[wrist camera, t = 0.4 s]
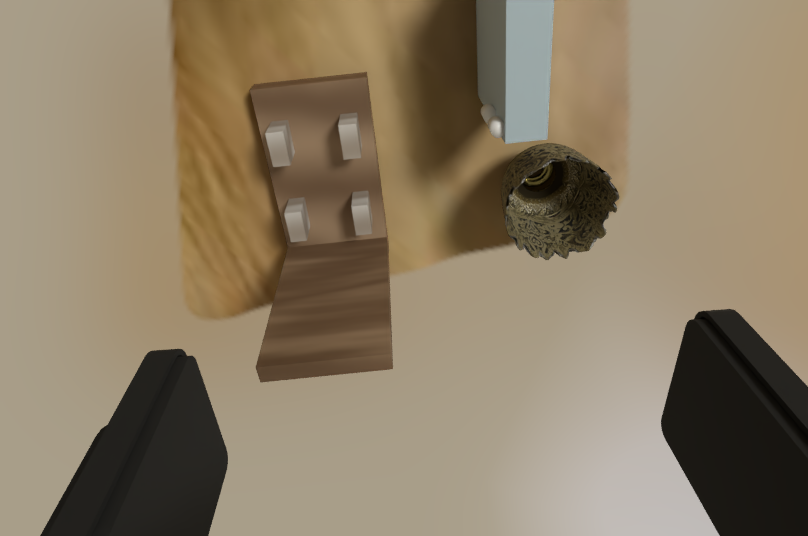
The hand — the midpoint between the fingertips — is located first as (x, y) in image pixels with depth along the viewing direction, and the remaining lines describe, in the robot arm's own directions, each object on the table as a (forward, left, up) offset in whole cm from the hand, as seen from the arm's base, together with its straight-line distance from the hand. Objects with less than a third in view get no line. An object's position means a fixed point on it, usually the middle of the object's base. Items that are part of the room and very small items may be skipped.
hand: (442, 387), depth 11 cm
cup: (+10, +10, -33) cm, 35 cm away
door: (-1, +7, -32) cm, 33 cm away
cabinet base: (+8, -6, -32) cm, 34 cm away
